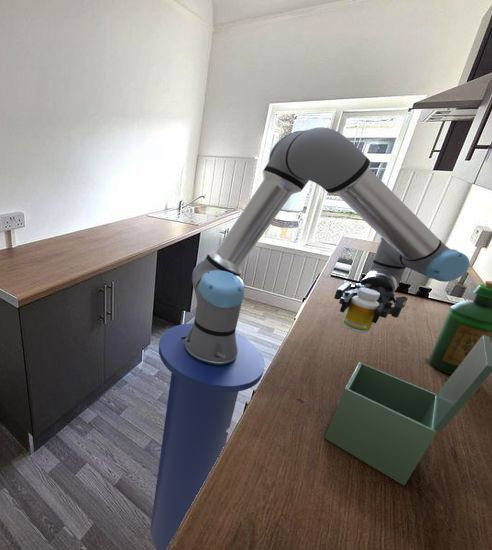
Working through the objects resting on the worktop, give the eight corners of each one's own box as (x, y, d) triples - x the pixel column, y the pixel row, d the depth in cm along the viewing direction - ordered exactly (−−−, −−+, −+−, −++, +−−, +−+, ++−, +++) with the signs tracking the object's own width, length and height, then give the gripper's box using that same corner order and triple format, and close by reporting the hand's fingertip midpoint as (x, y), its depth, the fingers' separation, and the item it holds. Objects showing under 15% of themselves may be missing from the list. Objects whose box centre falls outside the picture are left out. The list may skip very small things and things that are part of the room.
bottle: (456, 382, 83) (509, 292, 73) (414, 359, 93) (455, 276, 82) (482, 378, 85) (537, 290, 75) (438, 355, 95) (482, 275, 85)
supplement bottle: (370, 335, 69) (386, 298, 65) (343, 328, 71) (357, 292, 67) (366, 325, 73) (381, 290, 69) (340, 319, 75) (353, 284, 72)
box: (324, 438, 64) (344, 388, 59) (340, 407, 72) (359, 361, 67) (404, 486, 55) (436, 432, 50) (411, 444, 63) (440, 395, 58)
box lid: (487, 364, 44) (495, 368, 43) (482, 334, 52) (489, 336, 52) (434, 428, 50) (441, 432, 49) (438, 392, 58) (444, 394, 58)
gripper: (415, 311, 77) (406, 344, 62) (334, 288, 89) (309, 310, 74) (428, 285, 74) (421, 313, 59) (342, 264, 86) (318, 283, 71)
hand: (359, 311), depth 66 cm, fingers closed on supplement bottle, 5 cm apart
